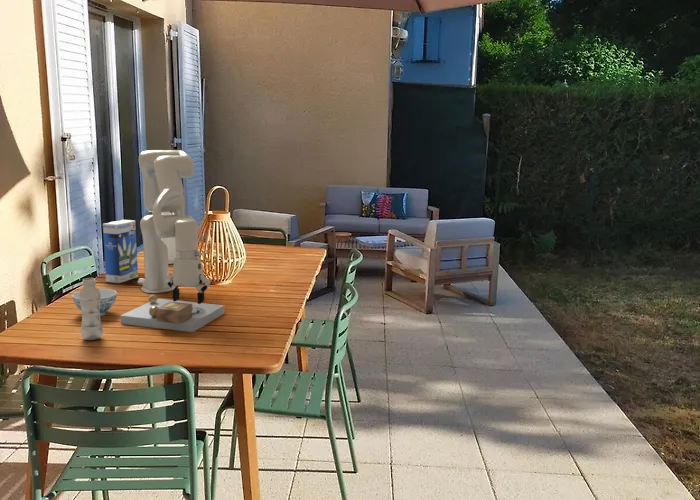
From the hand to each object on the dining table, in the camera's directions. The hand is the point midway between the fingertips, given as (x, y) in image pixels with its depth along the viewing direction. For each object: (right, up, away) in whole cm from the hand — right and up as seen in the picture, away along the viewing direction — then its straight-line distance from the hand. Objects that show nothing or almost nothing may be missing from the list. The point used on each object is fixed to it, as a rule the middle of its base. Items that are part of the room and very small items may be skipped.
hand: (188, 301), depth 228 cm
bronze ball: (-10, -3, -6) cm, 12 cm away
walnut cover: (-3, -5, -8) cm, 10 cm away
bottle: (-35, +12, +92) cm, 99 cm away
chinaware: (-35, -5, +6) cm, 36 cm away
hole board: (-6, -6, +3) cm, 9 cm away
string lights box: (-43, +5, +56) cm, 71 cm away
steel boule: (0, -4, +1) cm, 4 cm away
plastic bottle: (-26, -11, -20) cm, 35 cm away
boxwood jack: (-16, 0, +10) cm, 19 cm away
